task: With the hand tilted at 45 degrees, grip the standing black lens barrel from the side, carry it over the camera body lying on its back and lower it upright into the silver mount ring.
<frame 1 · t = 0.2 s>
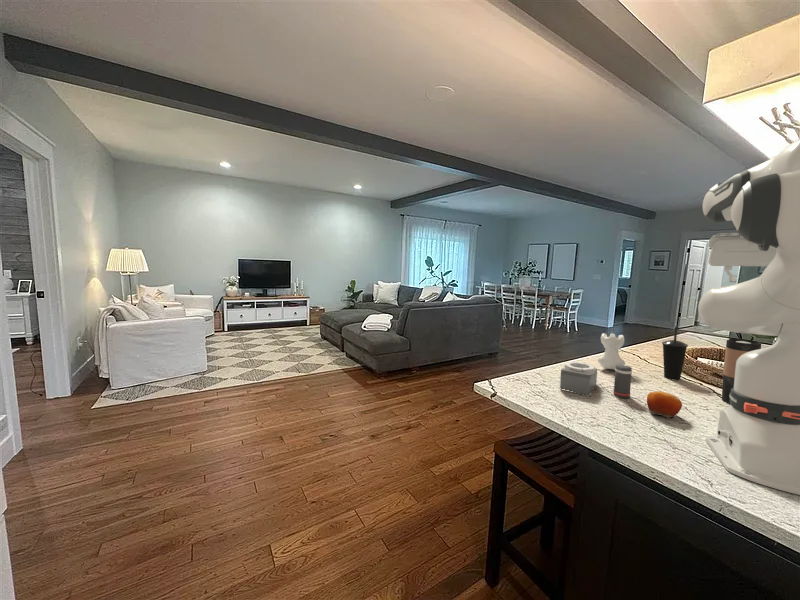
hand: (756, 282, 90), 39 cm above the worktop, tool pointing down, fingers open, 8 cm apart
lens: (621, 395, 110), on the worktop
travel mug: (737, 403, 104), on the worktop
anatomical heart: (610, 369, 138), on the worktop
drinking cup: (672, 378, 127), on the worktop
camera body: (578, 387, 118), on the worktop
fruit: (662, 415, 96), on the worktop
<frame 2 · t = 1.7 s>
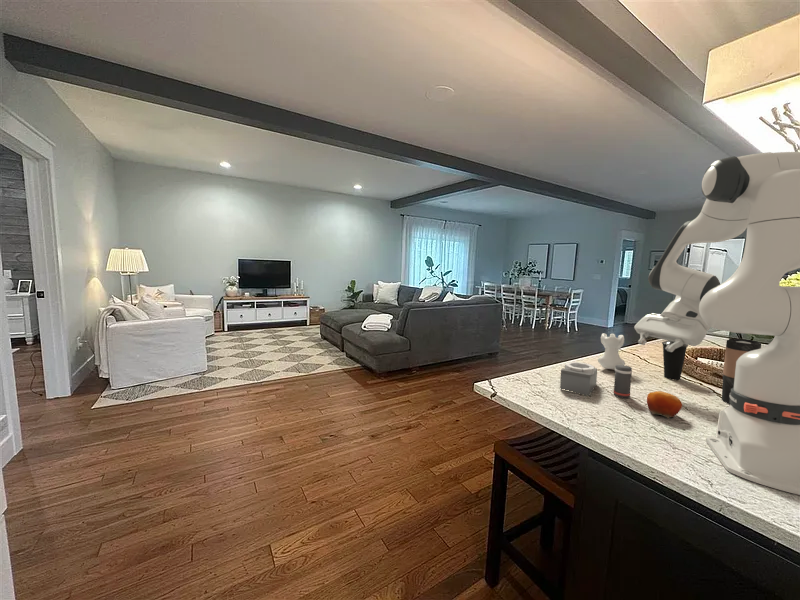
hand: (653, 346, 111), 16 cm above the worktop, tool tilted 45°, fingers open, 8 cm apart
nothing on the worktop moved.
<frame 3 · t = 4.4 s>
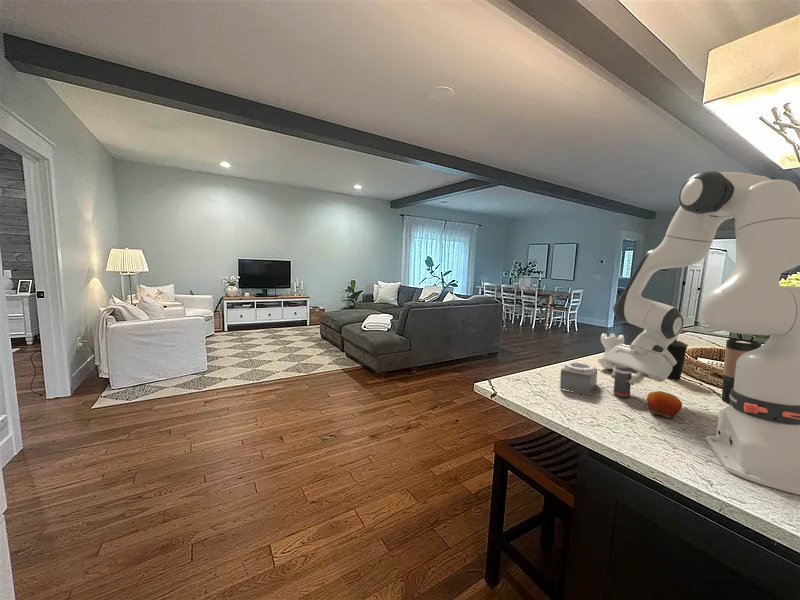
hand: (621, 380, 109), 5 cm above the worktop, tool tilted 45°, fingers closed on lens, 4 cm apart
lens: (621, 395, 110), on the worktop, touching gripper
everything else where it was.
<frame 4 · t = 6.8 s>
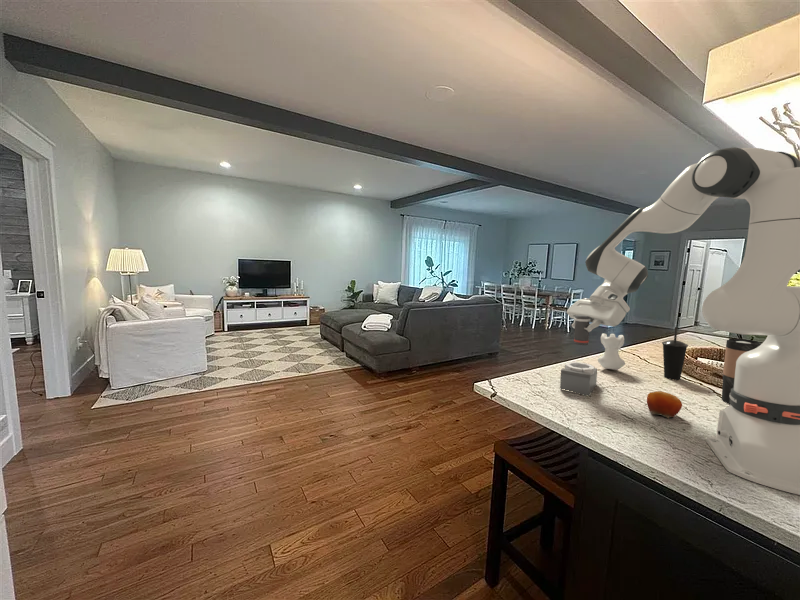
hand: (580, 329, 116), 21 cm above the worktop, tool tilted 45°, fingers closed on lens, 4 cm apart
lens: (581, 343, 117), point 16 cm above the worktop, touching gripper
everything else where it was.
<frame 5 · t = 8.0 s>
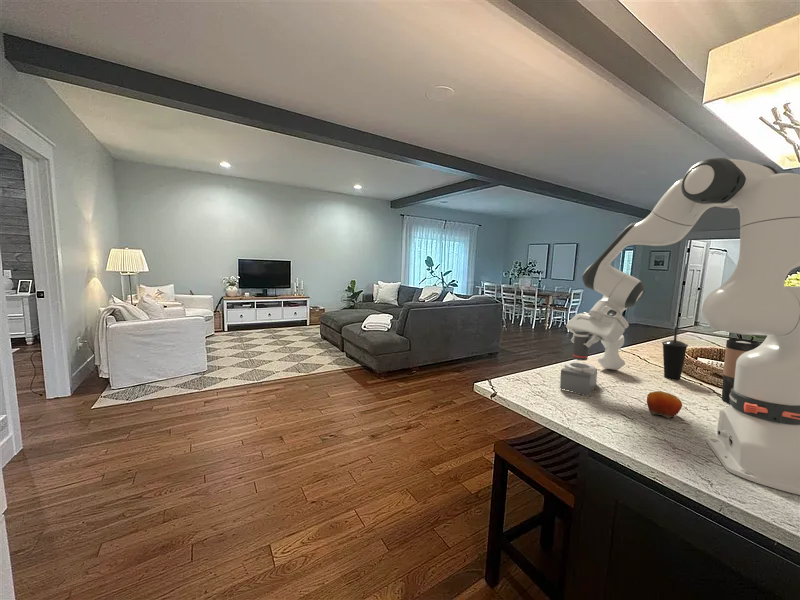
hand: (579, 344, 116), 16 cm above the worktop, tool tilted 45°, fingers closed on lens, 4 cm apart
lens: (580, 358, 117), point 10 cm above the worktop, touching gripper
everything else where it was.
when the fingers open (12 cm above the worktop, at t = 9.2 s): lens stays where it is, resting on camera body.
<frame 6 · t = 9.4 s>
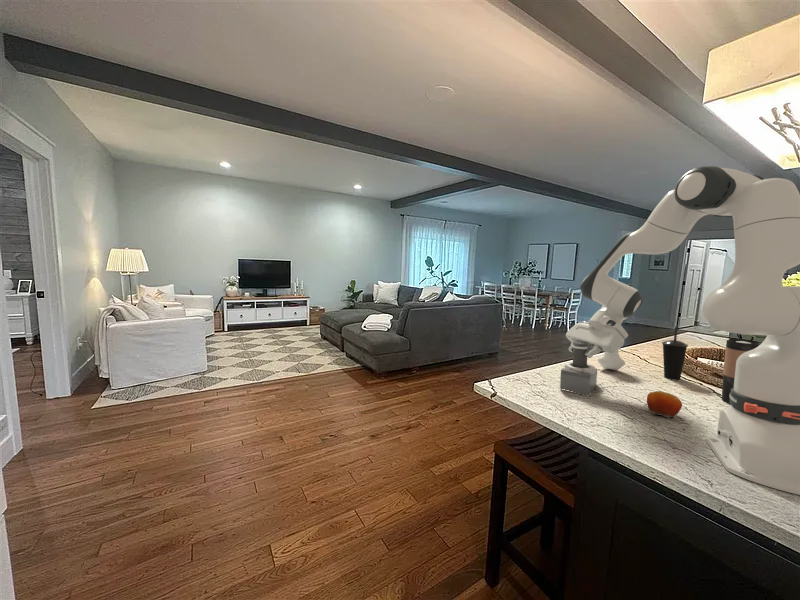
hand: (578, 353, 117), 12 cm above the worktop, tool tilted 45°, fingers open, 6 cm apart
lens: (579, 370, 117), point 6 cm above the worktop, touching camera body
everything else where it was.
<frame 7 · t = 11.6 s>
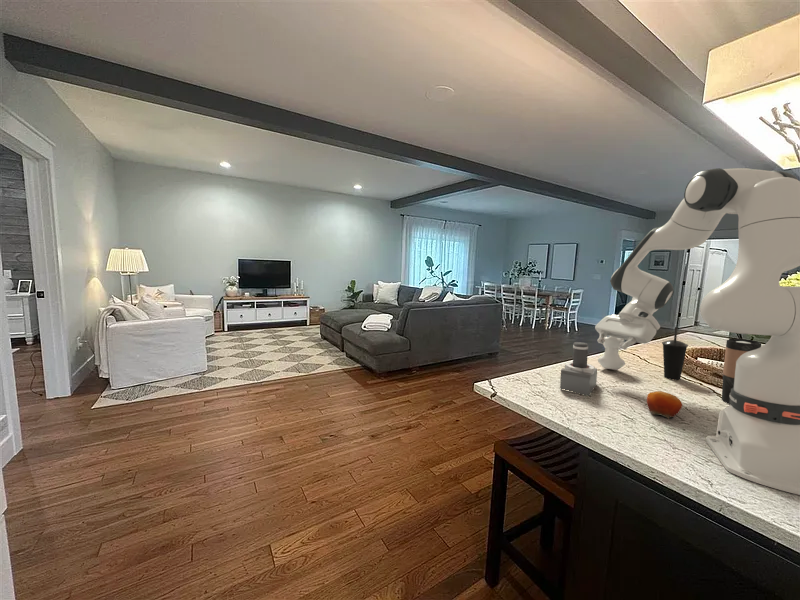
hand: (610, 345, 119), 15 cm above the worktop, tool tilted 45°, fingers open, 8 cm apart
nothing on the worktop moved.
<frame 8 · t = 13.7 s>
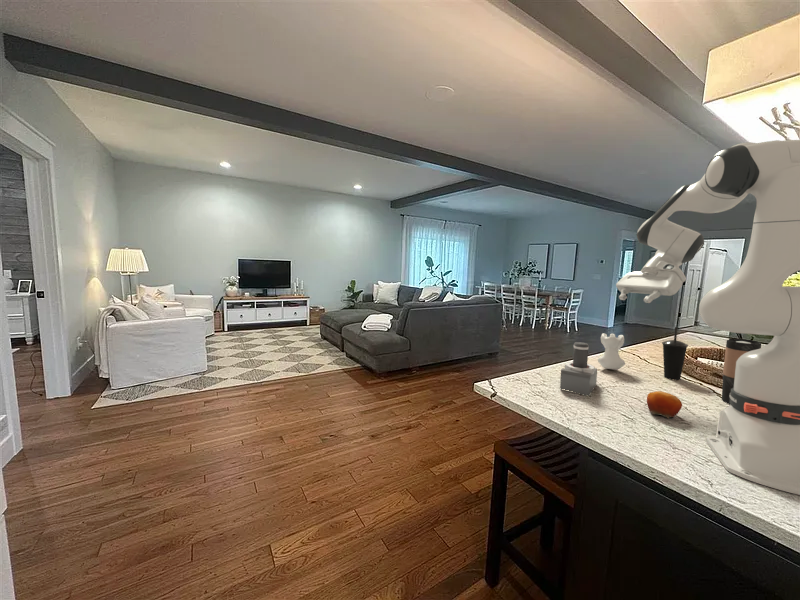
hand: (633, 300, 116), 31 cm above the worktop, tool tilted 45°, fingers open, 8 cm apart
nothing on the worktop moved.
at the end: lens 0.1 cm off-centre on the camera body, point 6.0 cm above the camera body's base; lens tilted 1°; the gripper is holding nothing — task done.
